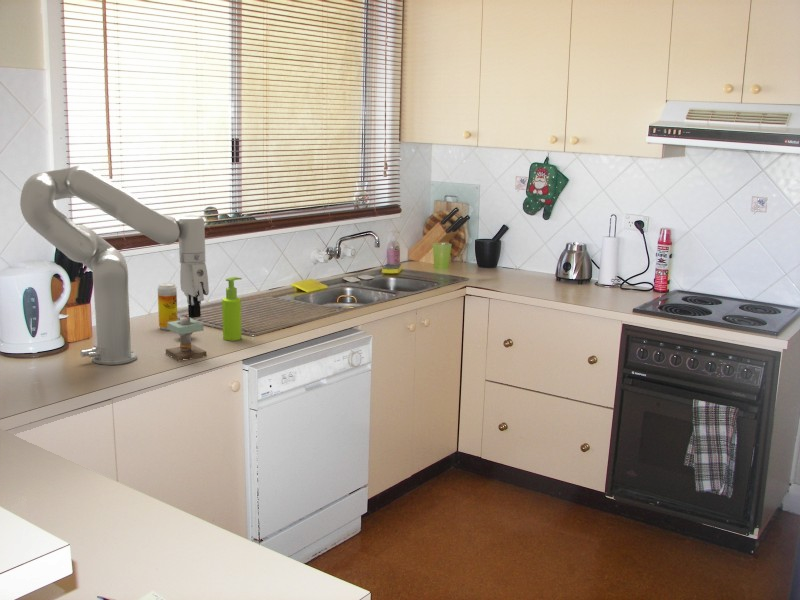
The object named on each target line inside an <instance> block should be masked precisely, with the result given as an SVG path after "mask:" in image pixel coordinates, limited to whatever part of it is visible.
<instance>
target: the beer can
mask: <svg viewBox="0 0 800 600" xmlns="http://www.w3.org/2000/svg"><path fill="white" fill-rule="evenodd" d="M177 293H178V292H177V286H176V283H173V282H161V283H159V284H158V286H157V307H158V326H159V328H160V329H161V330H165V331H168V330H169V329H167V322H172V321H179V320H178V319H179V318H178V297H177V296H178V294H177ZM169 331H170V330H169Z"/></svg>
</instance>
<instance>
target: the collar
mask: <svg viewBox="0 0 800 600" xmlns="http://www.w3.org/2000/svg"><path fill="white" fill-rule="evenodd" d="M167 329H169V331H170V332H172V333H175V334H177V335H179V334H186V333H192V332H193V333H197V332H204V329H205V328H204V324H203V323H202V322H200V321H197V320H196V319H194V318H190V324H189V325H183V326H182V325H180V319H179V320H178V321H172V322H167ZM193 333H192V334H193Z"/></svg>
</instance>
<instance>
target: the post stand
mask: <svg viewBox="0 0 800 600" xmlns="http://www.w3.org/2000/svg"><path fill="white" fill-rule="evenodd" d="M190 319H191V317H189V316H187V317H183V316H182V317H180V318H179V320H180V325H182V326H183V325H189V324H190ZM191 335H192V334H191V333H186V334H180V335H179V336H180V343H179V346H176V347H171V348H165V355H167V354H168V355H167V356H169V355H170V356H172V357H174V358H175V359H174V358H173V359H174V360H176V359H177V360H176V361H178V360H183V359H188V360H191V359H190V358H194V359H199V358H204V357H203V356H205V357H207V356H208V355H207V351H206V350H204V349H202V348H201V347H199V346H196V345H194V344H192V338H191ZM170 356H169V357H170ZM172 357H171V358H172ZM198 357H199V358H198ZM183 361H184V360H183Z"/></svg>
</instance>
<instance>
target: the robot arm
mask: <svg viewBox="0 0 800 600" xmlns="http://www.w3.org/2000/svg"><path fill="white" fill-rule="evenodd" d="M74 197H76V198H79V199H80V200H81V201H83V202H85V203H87V204H88V205H91V206H93V207H95V208H96V209H97V210H100V211H102V212H103V213H106V214H108V215H109V216H111V217H112V218H114V219H116V220H117V221H119V222H120V223H123V224H125V225H127V226H128V227H130V228H131V229H133V230H135V231H136V232H139V233H140V234H142V235H144V236H146V237H147V238H149V239H150V240H152V241H154V242H156V243H159V244H160V245H165V246H166V245H167V246H169V245H173V244H174V243H175V242H177V241H178V247H179V249H178V250H179V251H178V253H179V254H178V255H179V263H180V268H179V269H180V274H179V275H180V277H179V279H180V282H179V284H180V290H181V291H182V292H183V294H184V296H185V297H186V302H187V307H188V308H187V309H188V310H187V311H188V314H187V315H188V317H189V318H190V319H195V318H201V317H202V316H201V315H202V314H201V305H202V302H203V301H204V300H205V299H204V298H205V297H204V296H208V295H209V294H210V288H209V278H208V277H209V275H208V269H207V265H206V262H207V261H206V236H205V235H206V234H205V230H206V229H205V219H204V218H203V217H202V216H200V215H191V214H190V215H181V216H178V215H169V214H168V215H167V214H161V213H159V212H158V211H156V210H154V209H153V208H150V207H149V206H148V205H146V204H144V203H143V202H142V201H141V200H139V199H138V198H137V197H136V196H135V195H134V194H133V193H131V192H130V191H128V190H126V188H123V187H122V186H119V185H118V184H115V183H114V182H112V181H110V180H109V179H107V178H106V177H103V176H101V175H100V174H99V173H96V172H95V171H94V169H92V168H91V167H89V166H87V165H76V166H69V167H65V168H60V169H54V170H49V171H44V172H38V173H35V174H32V175H31V176H29V178H27V180H26V181H25V182H24V184H23V186H22V189H21V194H20V201H19V206H20V210H21V214H22V217H23V219H24V220H25V222H26V223H27V224H28V225H29V227H31V228H32V229H33V230H34V231H35V232H36V233H38V234H39V235H40V236H41V237H42V238H44V239H45V240H46V241H47V242H49V243H50V244H51V245H52V246H53V247H55V248H56V249H57V250H58V251H59V252H61V253H62V254H63V255H65V257H67V259H69V260H71V261H73V262H75V263H80V264H83V265H84V266H85V267H87V268H88V269H89V270H90V271H92V282H93V284H92V285H93V296H94V301H93V302H94V311H95V312H94V314H95V331H96V332H95V333H96V344H93V347H91V348H90V349H82V350H80V357H82V358H84V357H88V358H92V359H91V360H92V362H94V363H96V364H98V365H107V366H112V365H116V366H117V365H122V364H127V363H130V362H133V361H135V360H137V358H138V354H137V352H136V351H134V350H132V341H131V340H132V339H131V321H130V299H129V296H130V295H129V270H128V264H127V261H126V258H125V257H124V255H123V253H121V252H120V251H119V250H118V249H117V248H115V247H114V246H113V245H111V244H110V243H109V242H108V241H107V240H105V239H104V238H103V237H101V236H100V235H99V234H97V232H96V231H94V230H93V229H91V228H89V227H88V226H84V225H78V224H76V223H75V222H74V221H72V220H71V219H70V218H69V217H67V216H66V215H65V214H64V213H62V211H59V210H58V209H57V208H56V207H55V205H54V201H58V200H62V199H68V198H74Z"/></svg>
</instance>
